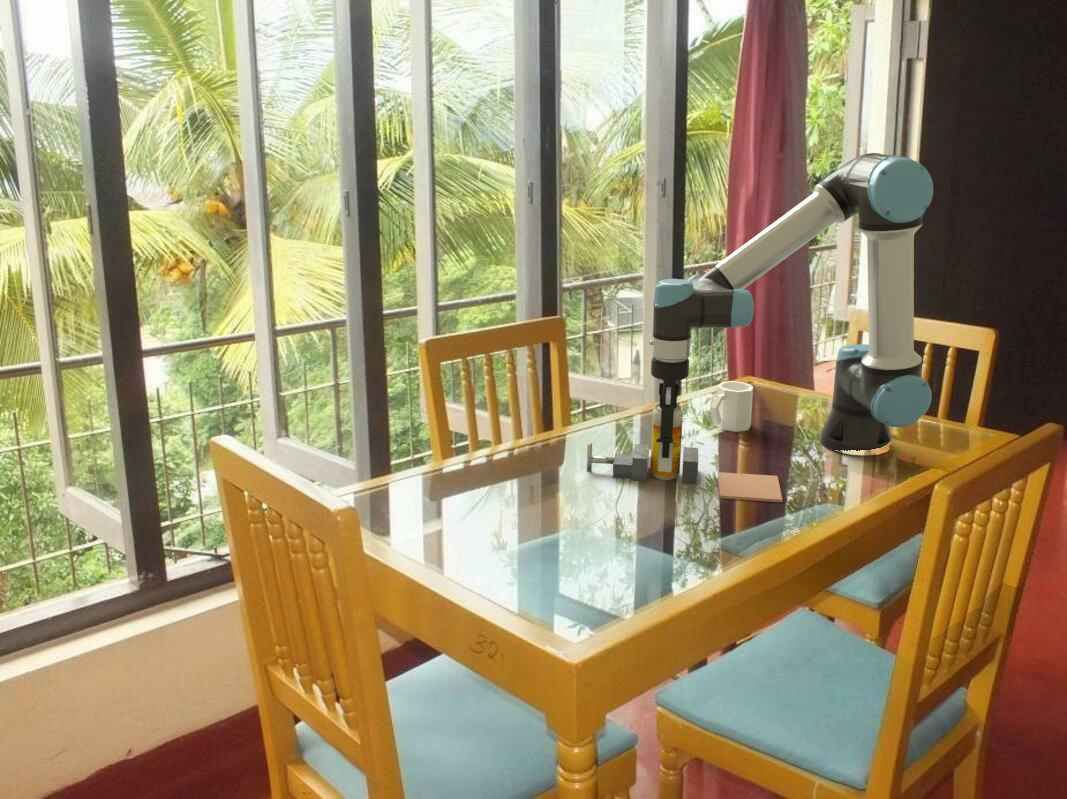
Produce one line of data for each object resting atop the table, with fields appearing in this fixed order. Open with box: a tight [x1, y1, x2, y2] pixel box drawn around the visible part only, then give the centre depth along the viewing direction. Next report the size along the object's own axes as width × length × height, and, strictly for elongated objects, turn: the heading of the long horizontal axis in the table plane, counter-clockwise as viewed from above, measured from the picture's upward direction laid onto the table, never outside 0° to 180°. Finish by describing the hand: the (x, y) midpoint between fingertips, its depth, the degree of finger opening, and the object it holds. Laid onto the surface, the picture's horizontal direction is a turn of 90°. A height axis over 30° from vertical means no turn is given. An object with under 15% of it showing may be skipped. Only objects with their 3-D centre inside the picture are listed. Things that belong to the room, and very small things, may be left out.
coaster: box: [717, 471, 783, 503], centre depth 190 cm, size 12×12×1 cm
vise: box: [586, 442, 699, 486], centre depth 197 cm, size 23×8×6 cm, turn 81°
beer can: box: [649, 403, 684, 481], centre depth 194 cm, size 6×6×15 cm
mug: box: [709, 380, 754, 433], centre depth 223 cm, size 12×9×10 cm
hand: (665, 463), depth 196 cm, fingers open, 8 cm apart
